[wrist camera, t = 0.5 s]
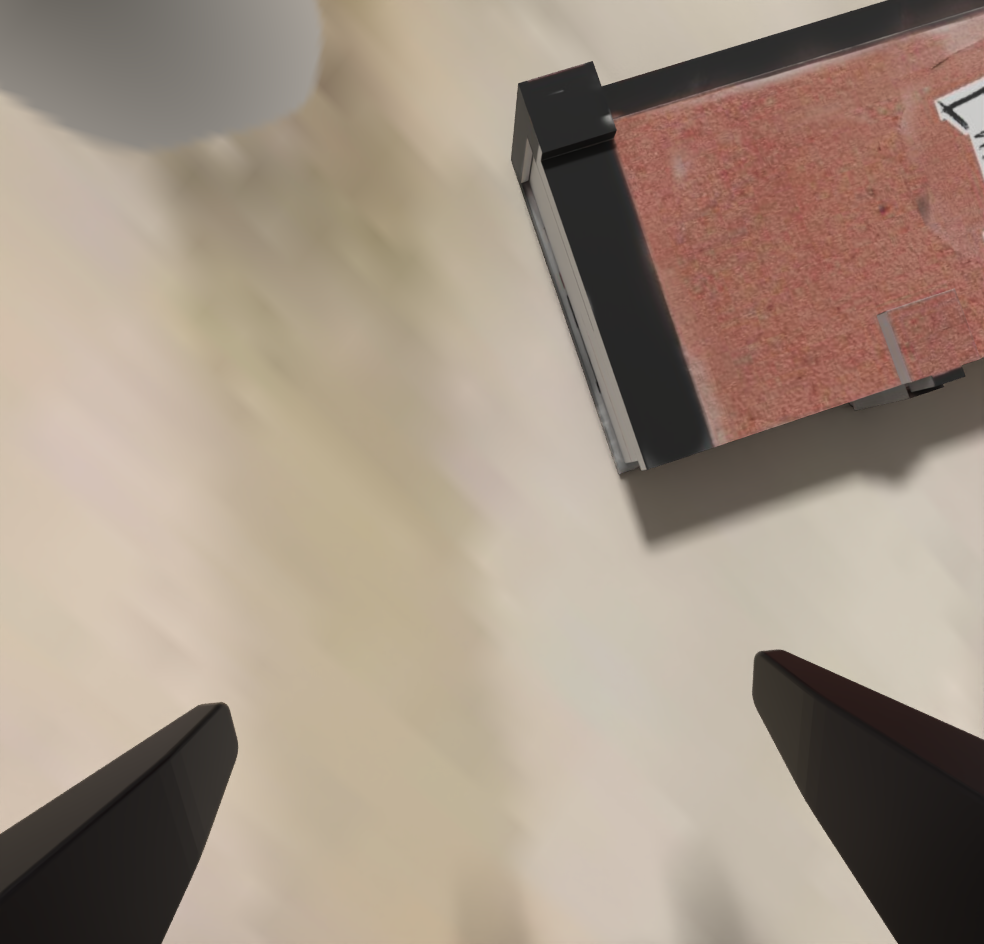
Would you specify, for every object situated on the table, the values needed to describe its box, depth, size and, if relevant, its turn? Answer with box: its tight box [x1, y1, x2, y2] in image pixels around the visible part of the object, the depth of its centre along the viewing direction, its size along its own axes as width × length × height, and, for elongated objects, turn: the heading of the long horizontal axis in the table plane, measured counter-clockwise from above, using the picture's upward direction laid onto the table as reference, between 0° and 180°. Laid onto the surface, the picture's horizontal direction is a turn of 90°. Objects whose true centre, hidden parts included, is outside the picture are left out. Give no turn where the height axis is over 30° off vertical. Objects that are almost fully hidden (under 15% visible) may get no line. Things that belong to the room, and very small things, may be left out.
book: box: [511, 0, 984, 474], centre depth 23 cm, size 26×18×5 cm
